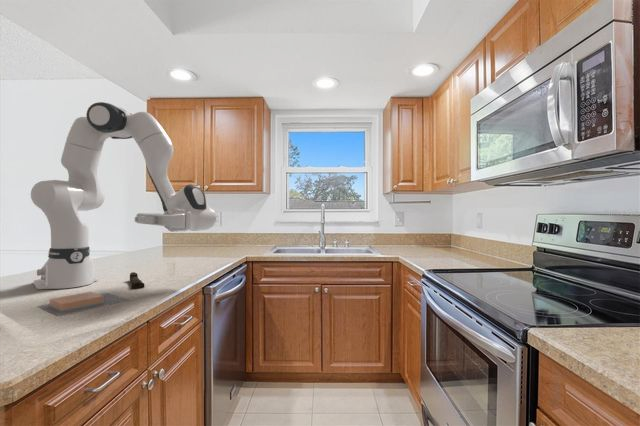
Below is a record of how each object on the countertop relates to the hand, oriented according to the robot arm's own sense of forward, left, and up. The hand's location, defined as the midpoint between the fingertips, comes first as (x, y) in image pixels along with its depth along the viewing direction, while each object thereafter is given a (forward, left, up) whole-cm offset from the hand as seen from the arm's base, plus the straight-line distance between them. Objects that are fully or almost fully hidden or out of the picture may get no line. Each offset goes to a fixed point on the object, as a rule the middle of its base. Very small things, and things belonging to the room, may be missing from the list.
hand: (136, 219), depth 103 cm
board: (-1, -14, -26) cm, 29 cm away
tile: (-1, -11, -23) cm, 26 cm away
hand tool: (-15, +7, -26) cm, 31 cm away
